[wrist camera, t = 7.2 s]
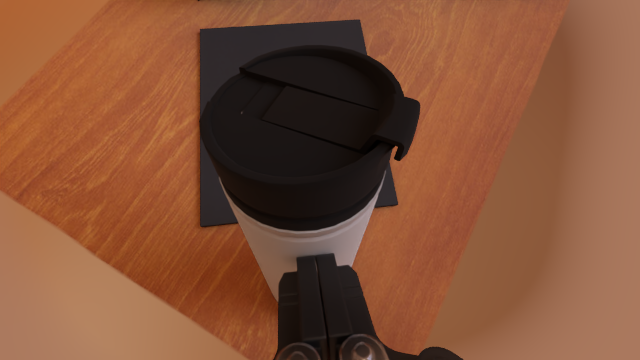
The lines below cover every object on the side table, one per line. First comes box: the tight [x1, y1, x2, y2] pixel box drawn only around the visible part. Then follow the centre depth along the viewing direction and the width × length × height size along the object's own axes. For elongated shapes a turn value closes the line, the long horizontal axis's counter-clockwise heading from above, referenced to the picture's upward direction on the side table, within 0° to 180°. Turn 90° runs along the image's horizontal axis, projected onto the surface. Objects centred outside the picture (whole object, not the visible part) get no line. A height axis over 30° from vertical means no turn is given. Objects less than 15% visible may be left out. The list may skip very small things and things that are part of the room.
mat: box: [200, 20, 398, 227], centre depth 31 cm, size 22×18×1 cm
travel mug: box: [199, 45, 420, 302], centre depth 17 cm, size 6×7×20 cm
